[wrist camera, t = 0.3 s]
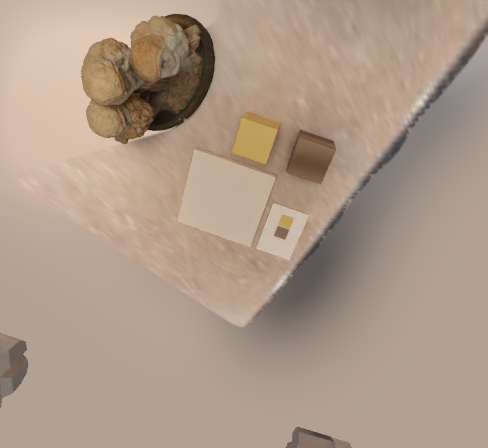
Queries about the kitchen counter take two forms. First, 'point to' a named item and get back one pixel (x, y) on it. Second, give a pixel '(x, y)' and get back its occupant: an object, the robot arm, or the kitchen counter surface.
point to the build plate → (224, 196)
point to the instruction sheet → (282, 231)
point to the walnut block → (311, 157)
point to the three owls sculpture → (148, 77)
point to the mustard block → (255, 137)
